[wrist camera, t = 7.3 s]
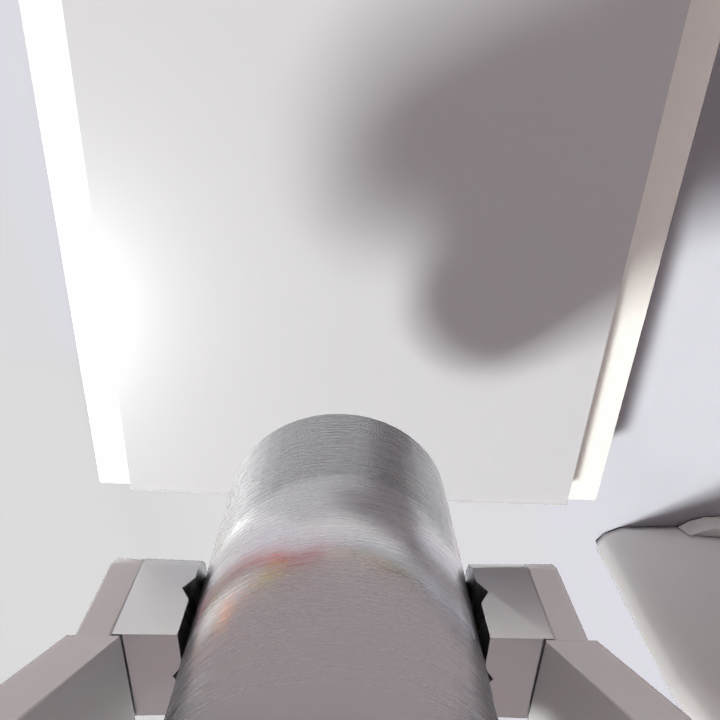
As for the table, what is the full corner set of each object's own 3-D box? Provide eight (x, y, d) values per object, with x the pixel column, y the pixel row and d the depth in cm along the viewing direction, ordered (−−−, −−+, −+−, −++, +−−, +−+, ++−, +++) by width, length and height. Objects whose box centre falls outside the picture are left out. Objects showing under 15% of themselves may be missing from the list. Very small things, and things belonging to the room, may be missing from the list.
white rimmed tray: (745, -290, 15) (868, -405, 11) (569, 453, 25) (605, 518, 21) (21, -342, 15) (-90, -479, 11) (128, 436, 24) (88, 500, 21)
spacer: (455, 416, 12) (544, 689, 7) (434, 588, 14) (488, 909, 8) (226, 410, 12) (121, 683, 6) (236, 584, 14) (162, 909, 8)
